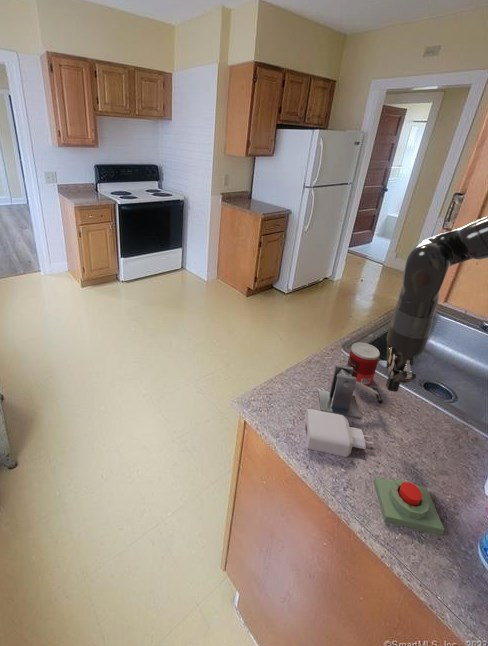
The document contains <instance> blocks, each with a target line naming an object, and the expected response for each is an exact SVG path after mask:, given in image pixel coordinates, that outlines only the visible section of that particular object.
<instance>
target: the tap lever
mask: <svg viewBox="0 0 488 646" xmlns="http://www.w3.org/2000/svg"><path fill="white" fill-rule="evenodd" d="M338 374H340V375H346V376H351V374H350V373H348V372H346V371H344V370H343V369H341V371H340V372H339V373H338ZM338 374H337V377H338ZM355 388H358V389H360V390H362V391H364V392H366V393H367V394H370V395H371V396H373V397H375V398H376V400H377V403H378V405H382V404H383V403H384V400H383V398H382V395H381V393H380V390H379V388H378V387H377V386H373V387H372V388H371V387H369V386H365V385H363V384H362V383H360V382H358V381H356V384H355Z"/></svg>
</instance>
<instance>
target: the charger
mask: <svg viewBox="0 0 488 646" xmlns="http://www.w3.org/2000/svg"><path fill="white" fill-rule="evenodd" d="M304 426H305V428H306V433H305V437H306V448H307V450H309V451H316V452H321V453H325V454H331V455H335V456H340V457H344V458H348V456H350V455H351V454H352V450H353V448H358V449H362V450H366V444H368V445H374V442H373V441H368V440H366V439H365V438H368V439H372V438H373V437H372V436H371V435H367V434H364V431H363V430H362V429H361V428H358V427H352V426H350V424H349V419H348V417H346V416H343V415H339V414H334V413H329V412H323V411H321V410H317V409H312V408H306V412H305V416H304Z"/></svg>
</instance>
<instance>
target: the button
mask: <svg viewBox="0 0 488 646" xmlns="http://www.w3.org/2000/svg"><path fill="white" fill-rule="evenodd" d="M410 482H411V481H410ZM410 482H403V483H402V484H401V487H400V489H399V495H400V497H401V498H402V500H403V501H404V502H406V503H407V504H409V505H411V506H418V505H419V504H420V501H421V499H422V493H421V491H420V490H419V488H418V487H417V486H418V485H416V484H415V485H416V486H415V485H414V483H413V482H411V483H410ZM412 483H413V484H412Z"/></svg>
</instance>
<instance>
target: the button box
mask: <svg viewBox="0 0 488 646" xmlns="http://www.w3.org/2000/svg"><path fill="white" fill-rule="evenodd" d="M403 482H410V483H412V484H414V483H413V482H411V481H410V480H406V479H401V478H397V479H395V480H392V479H387V478H382V477H378V476H375V477H374V479H373V486H374V489H375V494H376V498H377V500H378V505H379V509H380V512H381V515H382V518H383V522H384V523H388V524H393V525H397V526H401V527H405V528H409V529H413V530H418V531H423V532H426V533H431V534H435V535H439V536H442V535H443V534H444V532H445V528H444V525H443V523H442V521H441V518H440V516H439V514H438V512H437V509H436V506H435V504H434V501H433V499H432V497H431V495H430V493H429V490H428V487H426V486H421V485H416V484H414V485H415V486H417V487H418V488H419V490H420V491H421V493H422V499H421V501H420V504H419V505H418V506H411V505H409V504H407V503H406V502H404V501H403V500H402V498H401V497H400V495H399V489H400V487H401V484H402V483H403Z"/></svg>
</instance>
